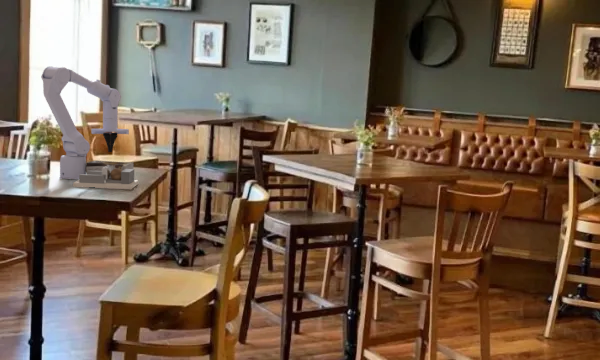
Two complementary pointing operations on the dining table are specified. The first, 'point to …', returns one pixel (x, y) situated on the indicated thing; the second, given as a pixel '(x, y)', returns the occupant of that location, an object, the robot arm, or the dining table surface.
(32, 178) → the dining table surface
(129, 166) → the coffee box
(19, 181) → the dining table surface
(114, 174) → the tan brown ball
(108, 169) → the block
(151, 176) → the dining table surface
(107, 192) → the dining table surface
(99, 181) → the press board
